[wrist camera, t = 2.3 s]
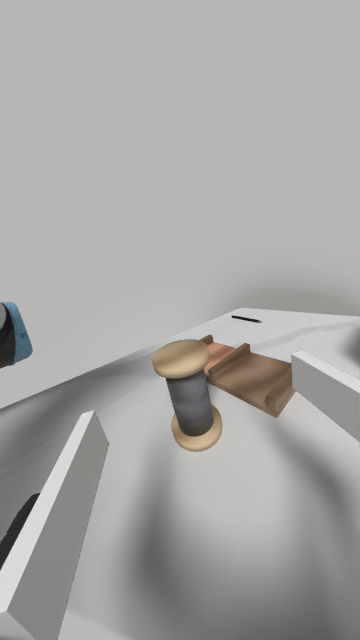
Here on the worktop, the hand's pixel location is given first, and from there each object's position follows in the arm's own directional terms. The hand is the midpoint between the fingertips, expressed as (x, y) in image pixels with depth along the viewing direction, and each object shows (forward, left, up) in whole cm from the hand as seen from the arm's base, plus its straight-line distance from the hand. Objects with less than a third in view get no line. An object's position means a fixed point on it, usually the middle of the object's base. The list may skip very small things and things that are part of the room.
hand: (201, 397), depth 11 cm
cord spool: (-9, +5, -14) cm, 17 cm away
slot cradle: (-13, +19, -13) cm, 26 cm away
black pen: (-26, +45, -14) cm, 54 cm away
